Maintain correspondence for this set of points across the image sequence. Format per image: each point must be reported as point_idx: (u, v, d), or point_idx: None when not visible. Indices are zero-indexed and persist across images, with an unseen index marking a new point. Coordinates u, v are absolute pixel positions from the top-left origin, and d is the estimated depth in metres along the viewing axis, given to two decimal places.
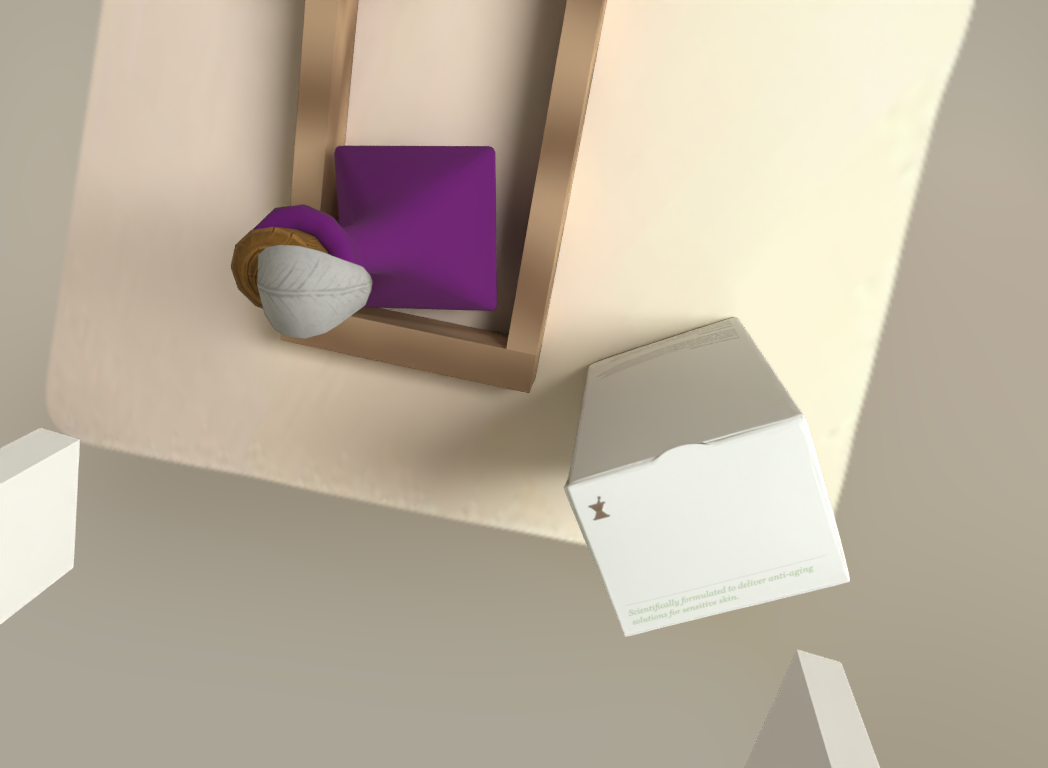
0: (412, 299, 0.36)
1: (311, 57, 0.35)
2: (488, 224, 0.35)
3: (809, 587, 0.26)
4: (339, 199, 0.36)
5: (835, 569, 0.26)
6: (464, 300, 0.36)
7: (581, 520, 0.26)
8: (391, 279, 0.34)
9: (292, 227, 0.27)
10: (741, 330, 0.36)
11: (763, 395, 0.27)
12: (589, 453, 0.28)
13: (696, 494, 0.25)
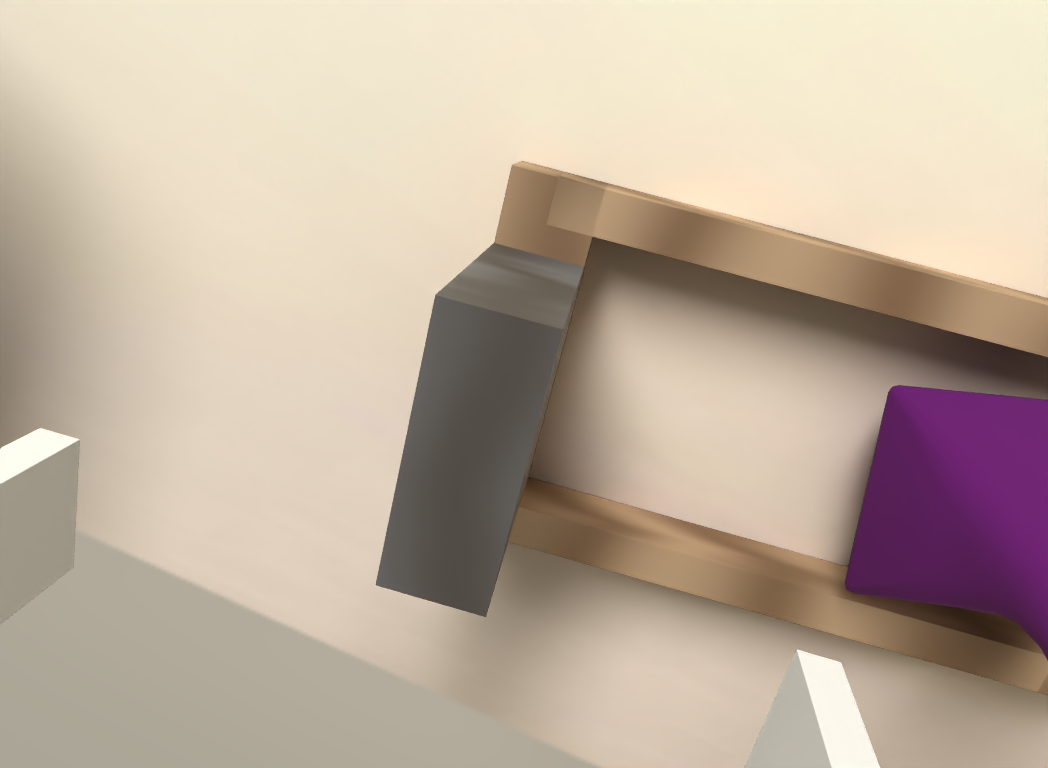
0: None
1: (723, 591, 0.28)
2: (1010, 409, 0.24)
3: None
4: None
5: None
6: None
7: None
8: None
9: None
10: None
11: None
12: None
13: None
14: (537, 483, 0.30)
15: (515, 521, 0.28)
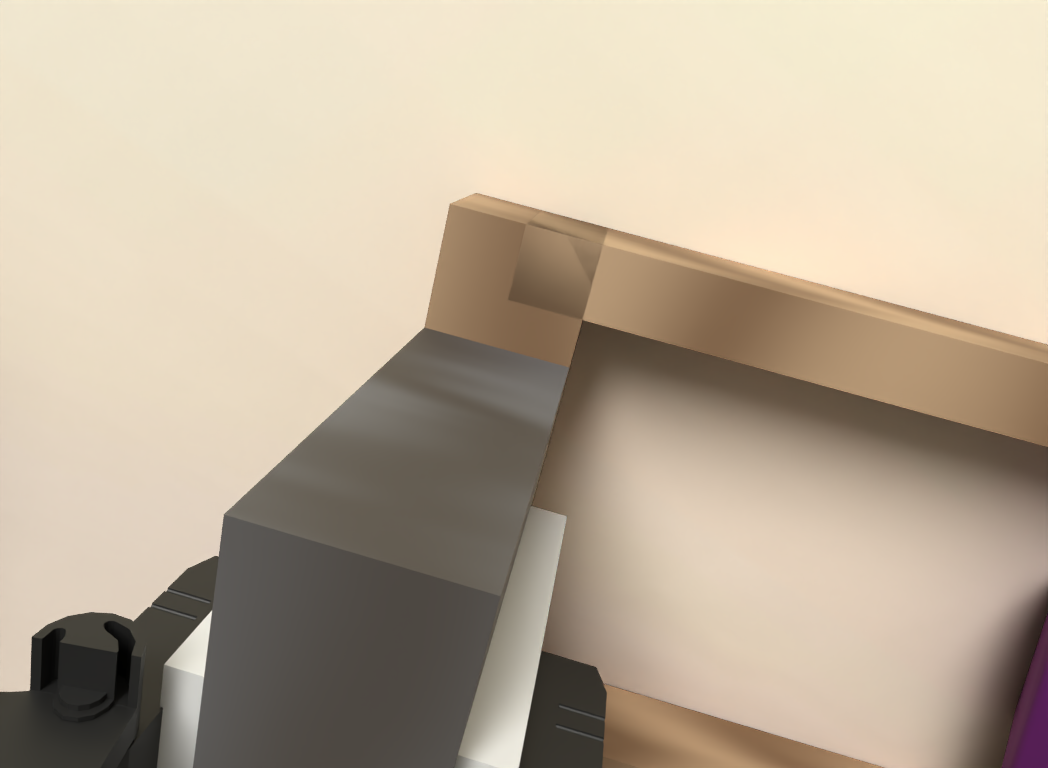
0: None
1: None
2: None
3: None
4: None
5: None
6: None
7: None
8: None
9: None
10: None
11: None
12: None
13: None
14: None
15: None
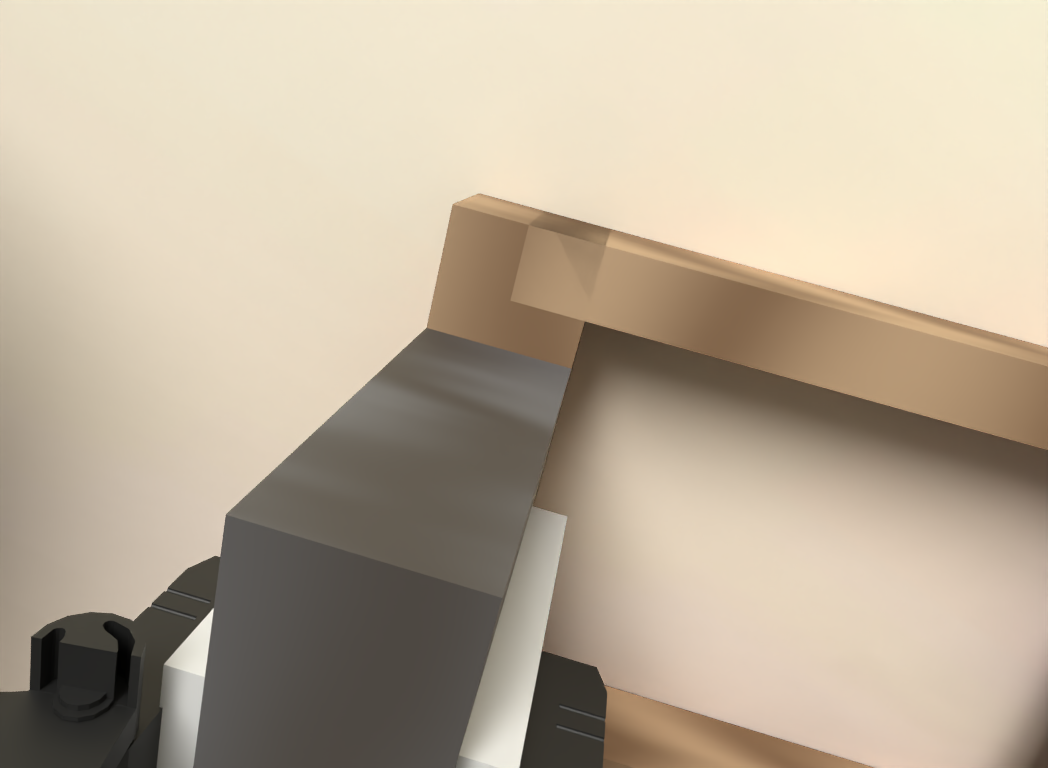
0: None
1: None
2: None
3: None
4: None
5: None
6: None
7: None
8: None
9: None
10: None
11: None
12: None
13: None
14: None
15: None
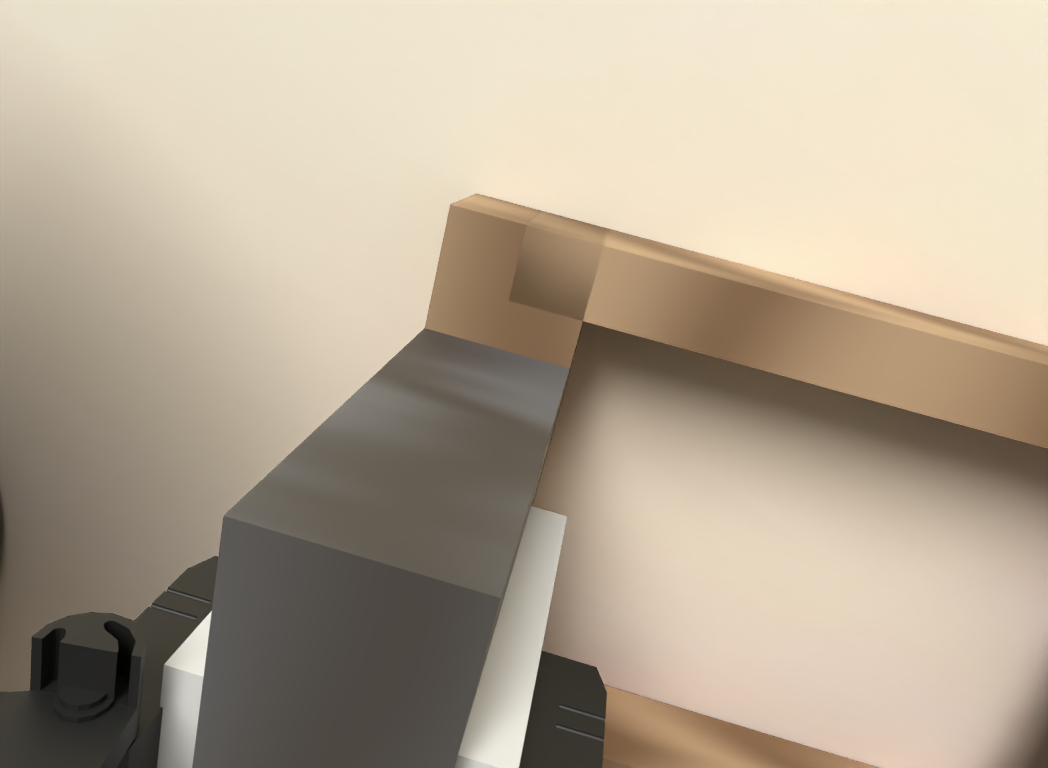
0: None
1: None
2: None
3: None
4: None
5: None
6: None
7: None
8: None
9: None
10: None
11: None
12: None
13: None
14: None
15: None
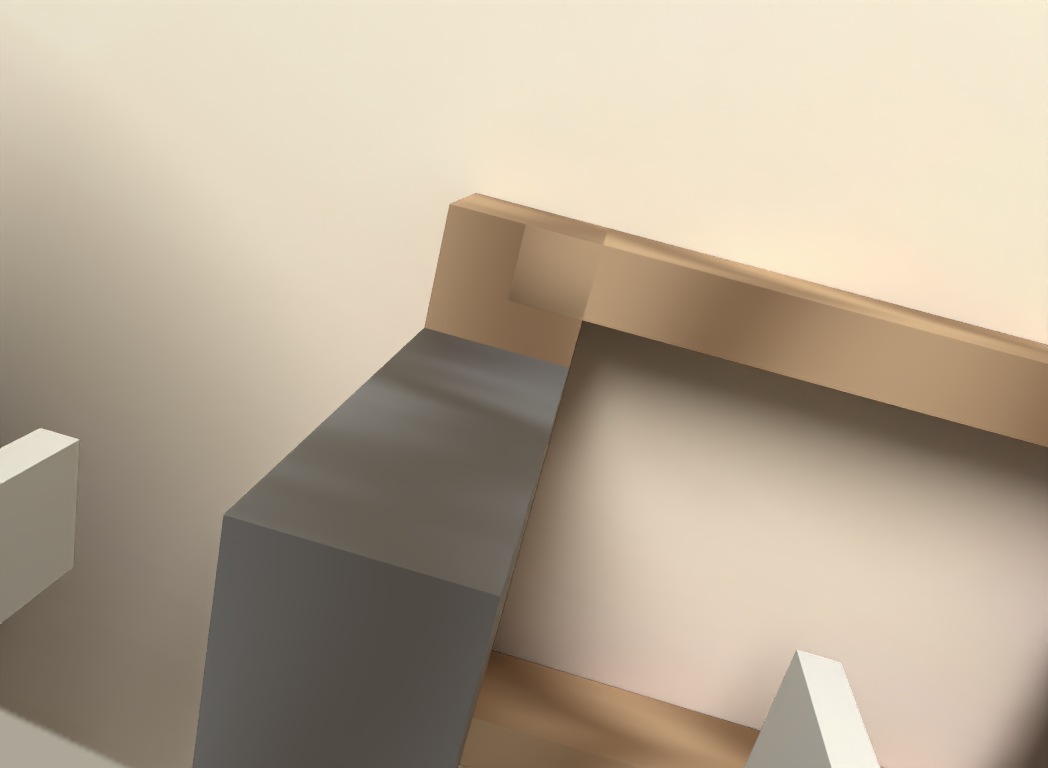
0: None
1: None
2: None
3: None
4: None
5: None
6: None
7: None
8: None
9: None
10: None
11: None
12: None
13: None
14: (505, 662, 0.21)
15: (467, 736, 0.19)
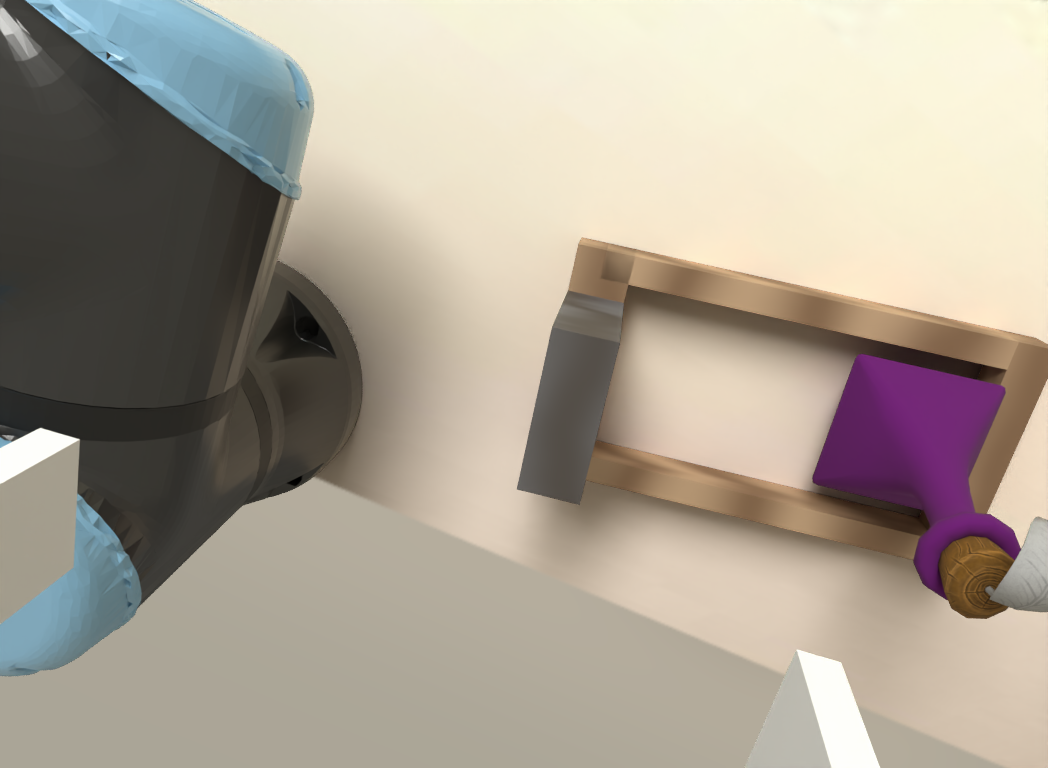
0: (974, 460, 0.39)
1: (719, 505, 0.44)
2: (926, 375, 0.39)
3: None
4: (859, 493, 0.41)
5: None
6: None
7: None
8: None
9: (938, 556, 0.32)
10: None
11: None
12: None
13: None
14: (595, 442, 0.46)
15: None
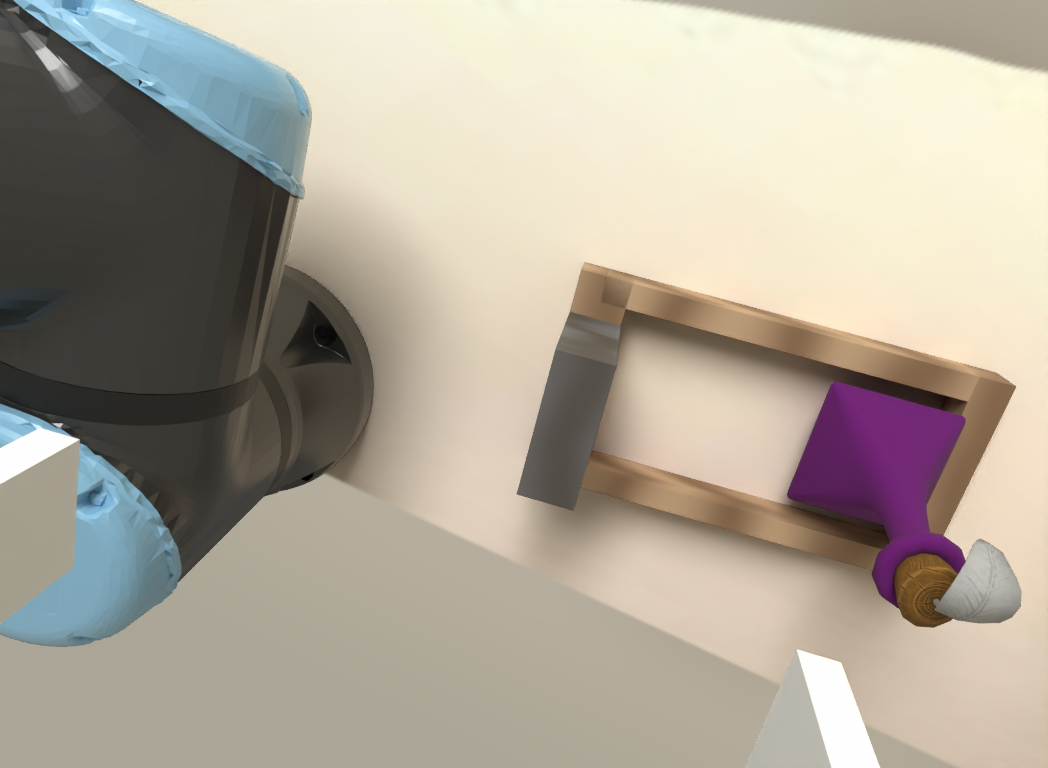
0: (934, 483, 0.43)
1: (701, 514, 0.48)
2: (894, 404, 0.43)
3: None
4: (829, 508, 0.45)
5: None
6: (952, 443, 0.42)
7: None
8: None
9: (894, 570, 0.35)
10: None
11: None
12: None
13: None
14: None
15: None
